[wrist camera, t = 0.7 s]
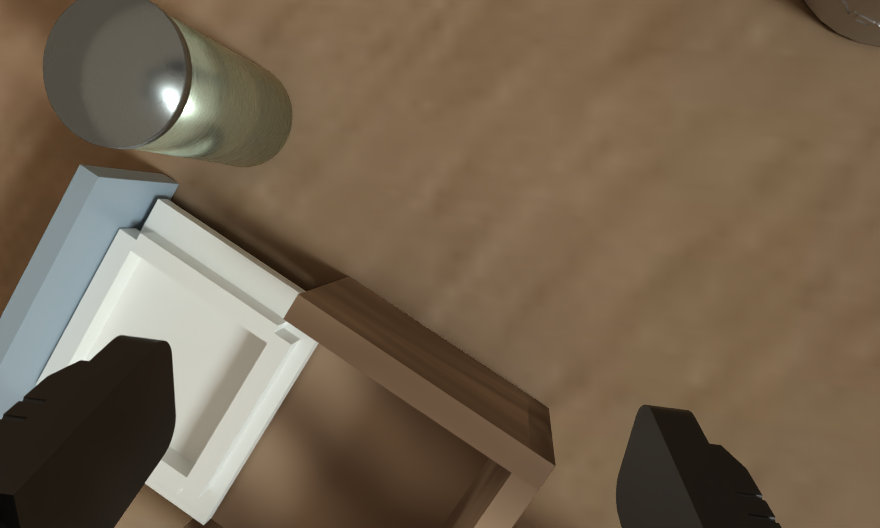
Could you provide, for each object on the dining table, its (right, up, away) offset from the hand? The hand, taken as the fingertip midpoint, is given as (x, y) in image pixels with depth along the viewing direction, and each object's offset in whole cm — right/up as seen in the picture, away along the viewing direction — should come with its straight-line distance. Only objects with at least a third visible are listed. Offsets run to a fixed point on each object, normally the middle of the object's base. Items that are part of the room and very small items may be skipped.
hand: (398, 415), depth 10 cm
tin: (-9, +10, +21) cm, 25 cm away
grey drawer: (-13, -2, +22) cm, 25 cm away
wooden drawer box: (-3, -8, +21) cm, 23 cm away
